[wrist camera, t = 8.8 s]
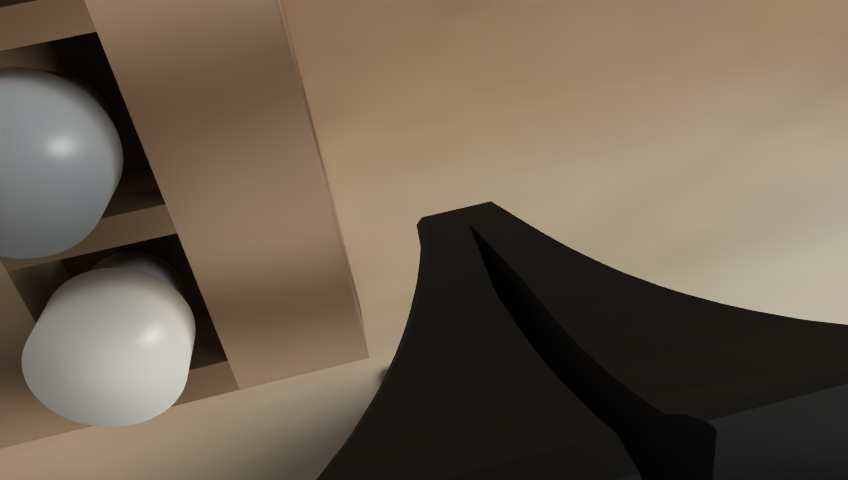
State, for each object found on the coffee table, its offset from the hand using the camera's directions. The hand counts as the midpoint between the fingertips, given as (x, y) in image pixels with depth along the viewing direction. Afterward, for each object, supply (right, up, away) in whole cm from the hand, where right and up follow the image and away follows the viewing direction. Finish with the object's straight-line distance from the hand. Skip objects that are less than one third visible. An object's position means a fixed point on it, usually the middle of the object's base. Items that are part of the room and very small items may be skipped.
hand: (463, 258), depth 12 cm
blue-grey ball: (-10, +3, +6) cm, 13 cm away
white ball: (-10, -1, +9) cm, 13 cm away
